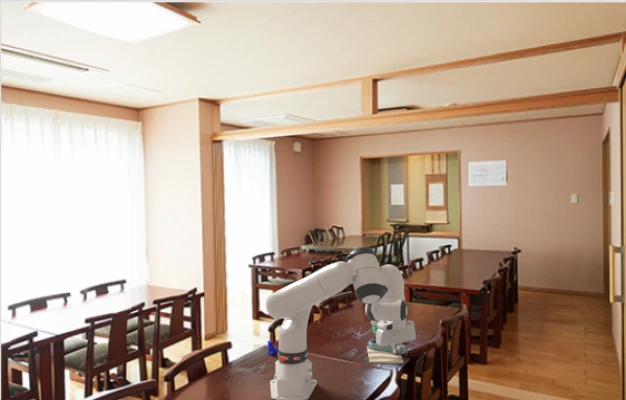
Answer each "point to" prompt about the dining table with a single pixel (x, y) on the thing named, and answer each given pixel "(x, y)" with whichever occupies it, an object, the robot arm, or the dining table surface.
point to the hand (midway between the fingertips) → (396, 352)
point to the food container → (374, 327)
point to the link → (385, 347)
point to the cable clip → (272, 349)
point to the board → (383, 356)
